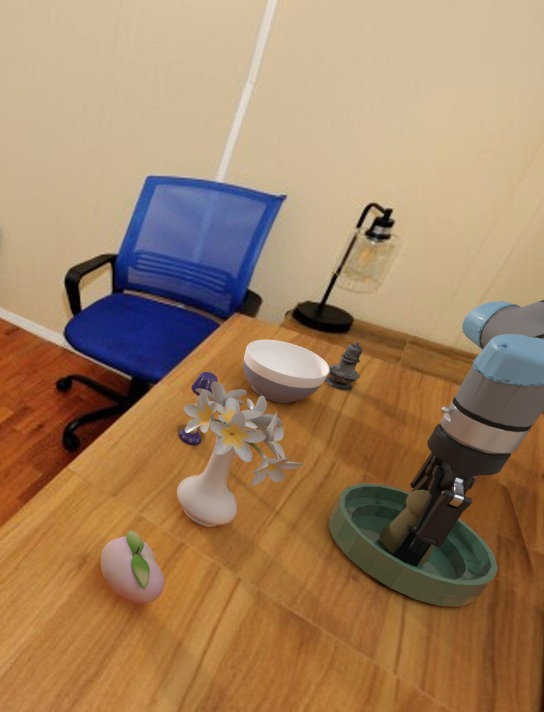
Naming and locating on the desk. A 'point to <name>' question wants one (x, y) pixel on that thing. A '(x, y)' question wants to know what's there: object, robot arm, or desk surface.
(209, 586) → the desk surface
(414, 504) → the olive brown pawn
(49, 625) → the desk surface
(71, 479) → the desk surface
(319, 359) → the bowl
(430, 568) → the green bowl
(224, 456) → the flower vase
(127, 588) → the decorative fruit
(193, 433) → the toy lamp
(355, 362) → the grey stone figurine
